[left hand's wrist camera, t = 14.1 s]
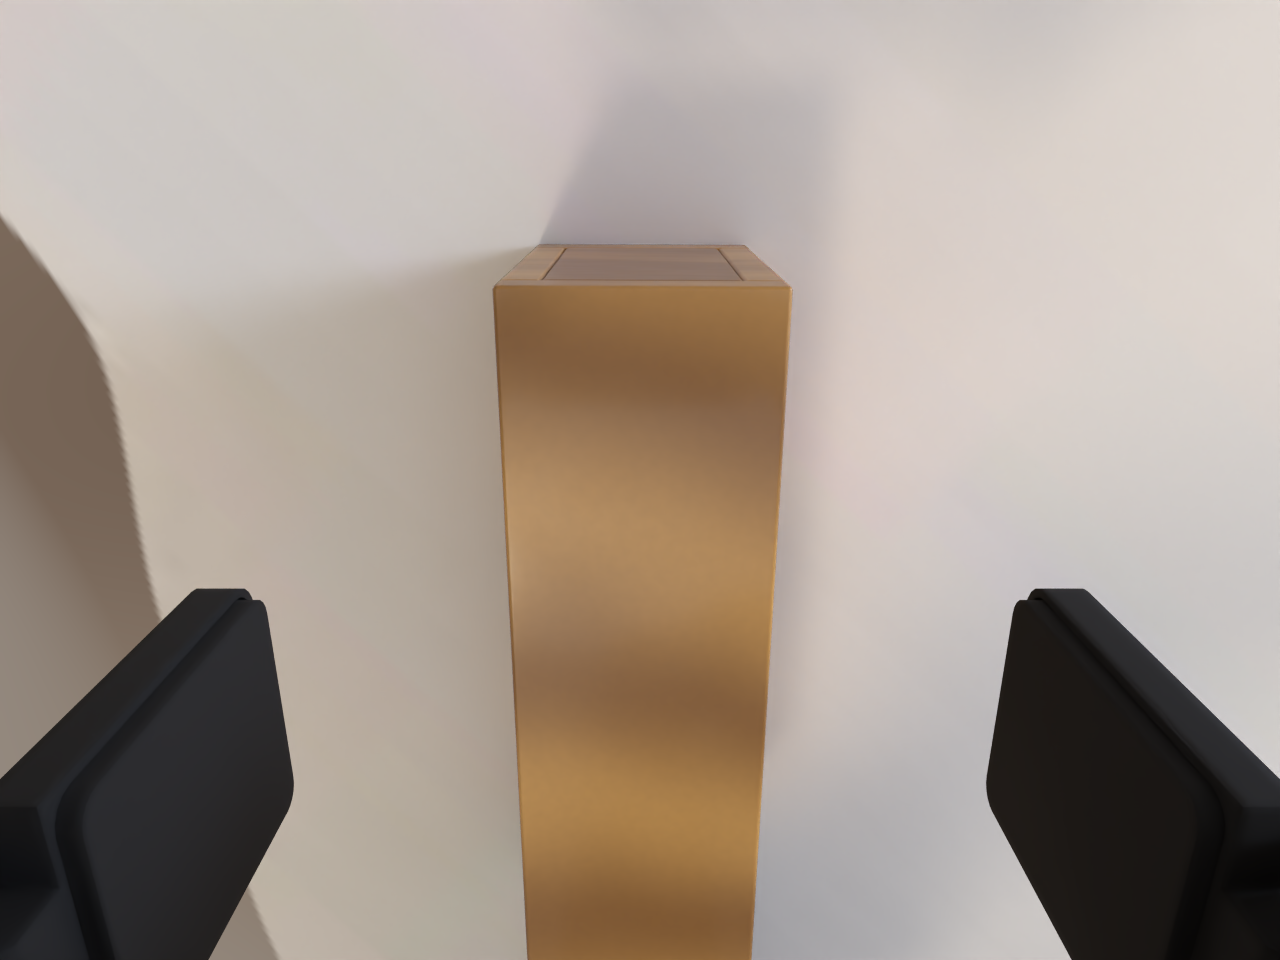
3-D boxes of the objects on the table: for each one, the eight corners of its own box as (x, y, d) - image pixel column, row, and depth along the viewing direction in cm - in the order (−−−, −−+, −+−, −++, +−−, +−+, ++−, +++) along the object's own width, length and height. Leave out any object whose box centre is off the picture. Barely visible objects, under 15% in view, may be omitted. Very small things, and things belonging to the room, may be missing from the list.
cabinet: (721, 808, 33) (748, 1019, 25) (556, 807, 33) (530, 1019, 25) (746, 244, 26) (793, 286, 18) (537, 244, 26) (492, 285, 18)
